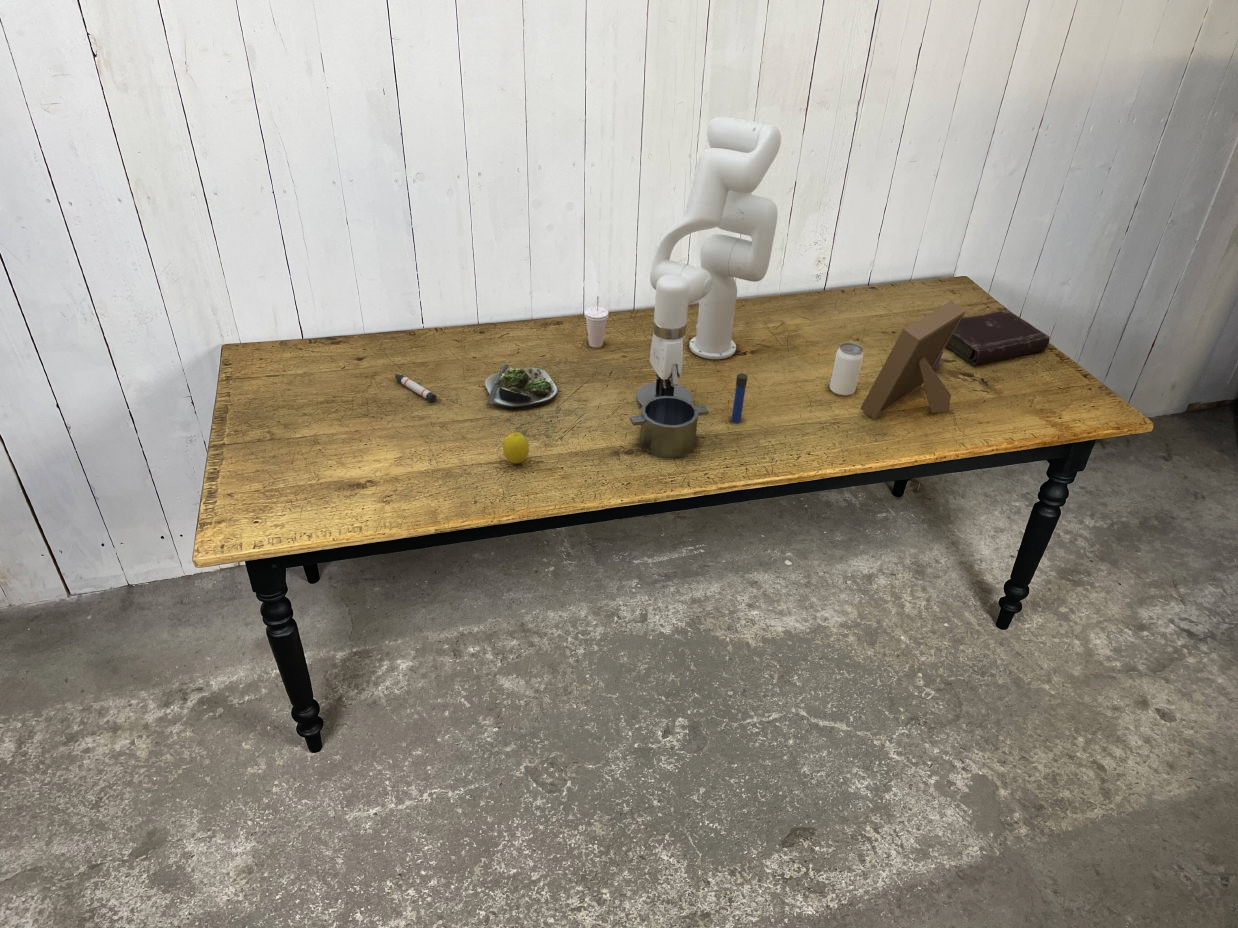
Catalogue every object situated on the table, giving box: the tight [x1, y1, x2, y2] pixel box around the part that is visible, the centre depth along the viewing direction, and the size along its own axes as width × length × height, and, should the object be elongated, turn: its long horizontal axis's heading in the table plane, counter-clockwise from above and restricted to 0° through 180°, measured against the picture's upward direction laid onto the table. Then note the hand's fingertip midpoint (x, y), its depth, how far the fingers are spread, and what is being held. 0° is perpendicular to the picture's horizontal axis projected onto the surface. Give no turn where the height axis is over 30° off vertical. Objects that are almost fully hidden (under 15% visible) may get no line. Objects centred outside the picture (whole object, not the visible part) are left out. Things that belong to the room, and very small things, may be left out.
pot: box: [629, 396, 709, 459], centre depth 196 cm, size 13×18×8 cm
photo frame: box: [859, 300, 967, 420], centre depth 206 cm, size 15×22×25 cm
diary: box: [945, 309, 1051, 366], centre depth 240 cm, size 19×25×5 cm
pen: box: [731, 372, 748, 424], centre depth 203 cm, size 2×2×12 cm
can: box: [829, 342, 864, 397], centre depth 216 cm, size 6×6×12 cm
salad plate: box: [484, 363, 558, 411], centre depth 213 cm, size 19×18×5 cm
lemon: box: [502, 432, 530, 464], centre depth 188 cm, size 6×6×8 cm
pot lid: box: [635, 378, 693, 407], centre depth 210 cm, size 14×14×6 cm
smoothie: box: [584, 295, 610, 349], centre depth 230 cm, size 6×6×14 cm
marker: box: [394, 373, 437, 403], centre depth 212 cm, size 15×2×2 cm, turn 48°
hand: (664, 395), depth 210 cm, fingers closed on pot lid, 2 cm apart
